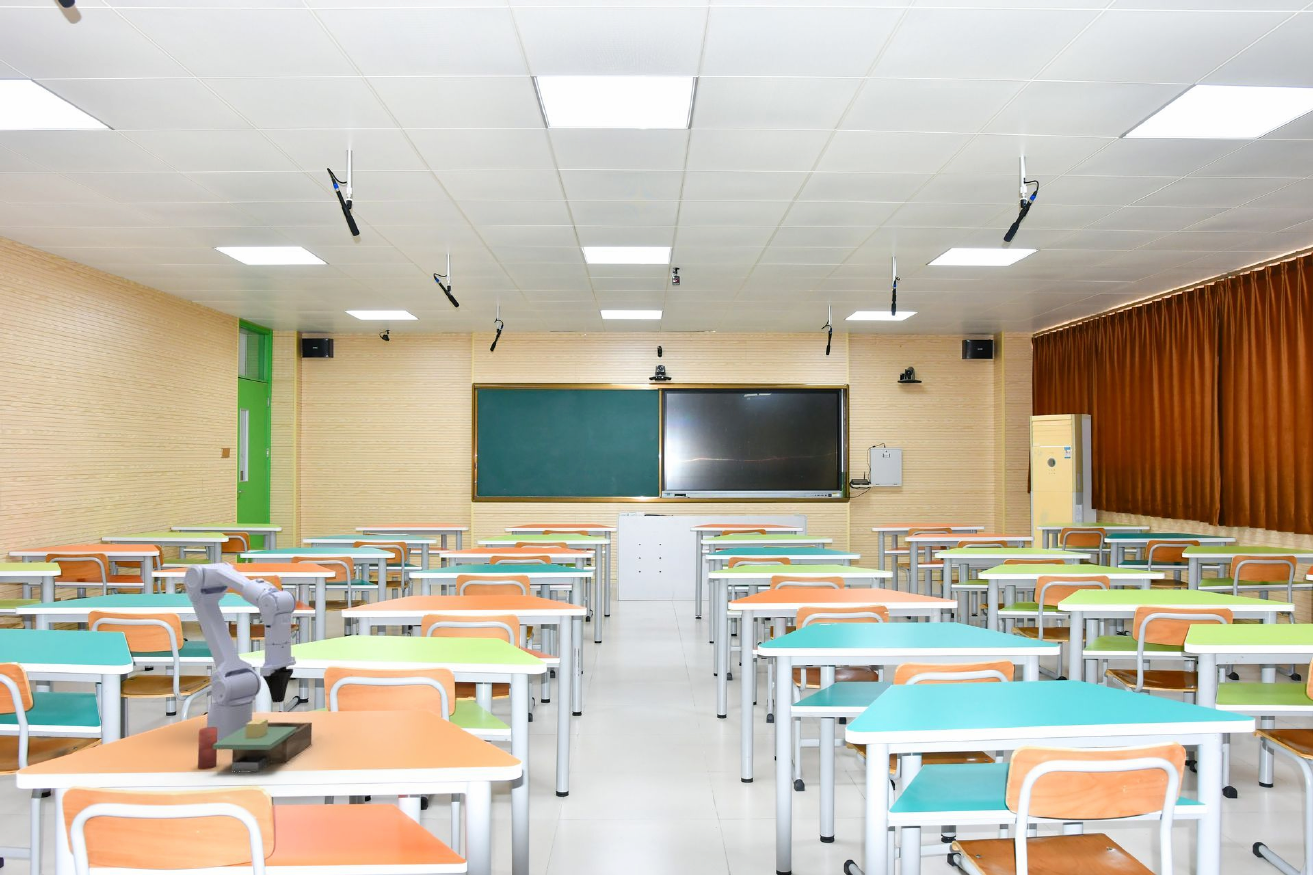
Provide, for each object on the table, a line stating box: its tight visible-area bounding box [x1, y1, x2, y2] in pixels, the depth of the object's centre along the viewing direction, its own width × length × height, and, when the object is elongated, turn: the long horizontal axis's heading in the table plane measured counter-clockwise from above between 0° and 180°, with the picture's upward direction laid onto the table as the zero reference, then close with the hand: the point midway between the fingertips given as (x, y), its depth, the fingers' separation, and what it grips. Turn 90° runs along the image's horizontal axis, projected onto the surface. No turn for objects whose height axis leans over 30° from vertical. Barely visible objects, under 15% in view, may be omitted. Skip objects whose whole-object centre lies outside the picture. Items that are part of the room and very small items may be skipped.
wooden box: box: [231, 721, 313, 763], centre depth 202 cm, size 12×14×5 cm
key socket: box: [231, 755, 271, 773], centre depth 191 cm, size 6×6×2 cm
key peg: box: [197, 726, 218, 770], centre depth 192 cm, size 4×4×8 cm
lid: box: [213, 718, 297, 751], centre depth 193 cm, size 12×14×4 cm
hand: (278, 701), depth 207 cm, fingers closed
